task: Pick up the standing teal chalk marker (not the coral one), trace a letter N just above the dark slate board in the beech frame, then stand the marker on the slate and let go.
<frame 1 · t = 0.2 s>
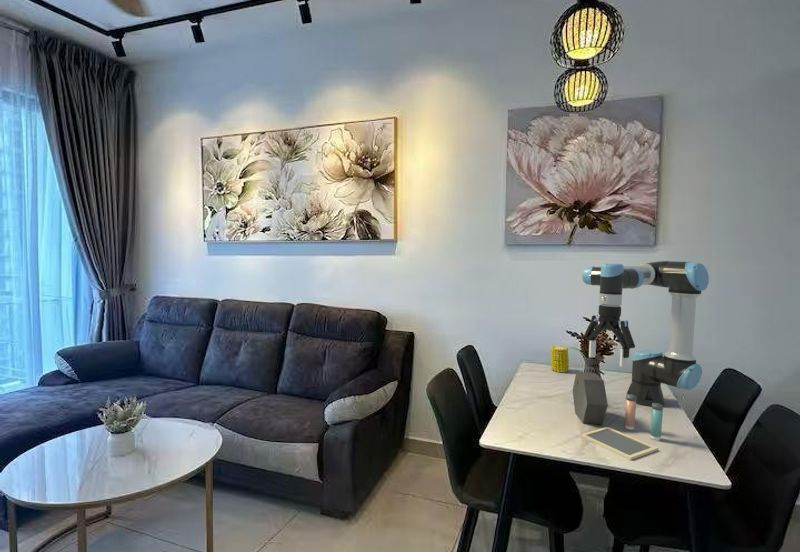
hand: (607, 361, 158), 27 cm above the table, fingers open, 13 cm apart
food: (559, 371, 241), on the table
planter: (588, 418, 174), on the table
slate board: (617, 443, 152), on the table
coral marker: (629, 428, 164), on the table
teal marker: (655, 439, 156), on the table
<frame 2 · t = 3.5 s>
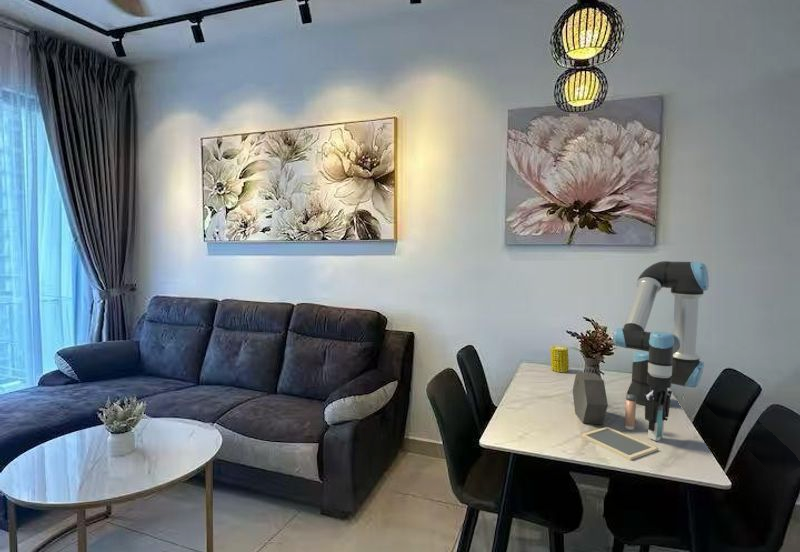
hand: (655, 437, 156), 1 cm above the table, fingers closed on teal marker, 3 cm apart
teal marker: (655, 439, 156), on the table, touching gripper
everything else where it was.
when the fingers open (2 cm above the table, at t = 15.7 s): teal marker stays where it is, resting on slate board.
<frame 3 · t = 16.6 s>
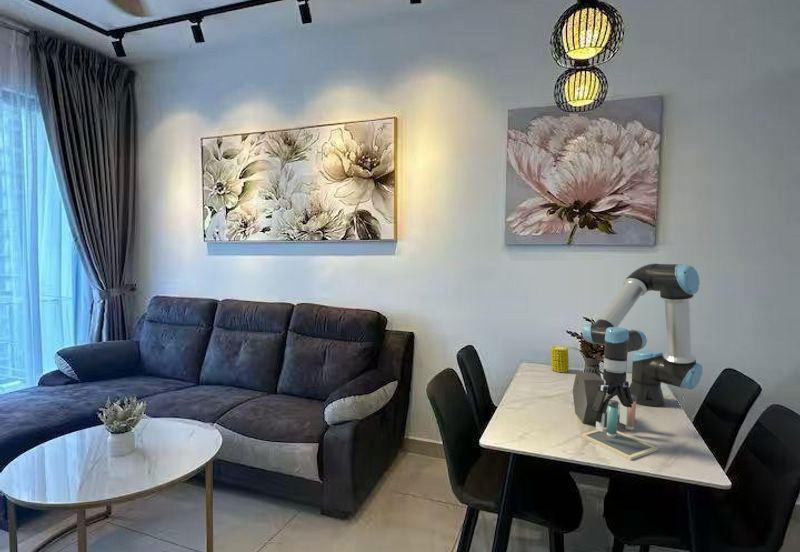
hand: (611, 426, 156), 4 cm above the table, fingers open, 13 cm apart
teal marker: (611, 436, 156), point 1 cm above the table, touching slate board
everything else where it was.
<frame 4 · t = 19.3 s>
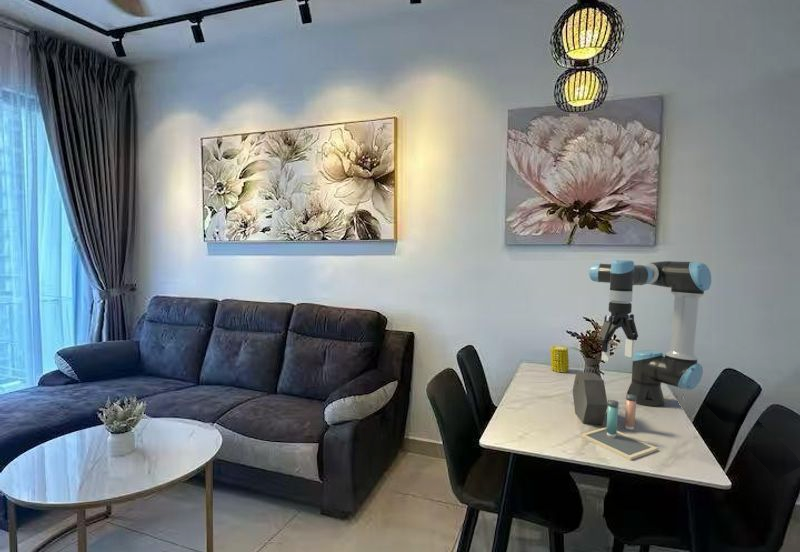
hand: (617, 358, 158), 29 cm above the table, fingers open, 13 cm apart
nothing on the table moved.
at the end: teal marker inside the target area on the slate board (4.5 cm from its centre), point 0.6 cm above the slate board's base; teal marker tilted 0°; the gripper is holding nothing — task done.
